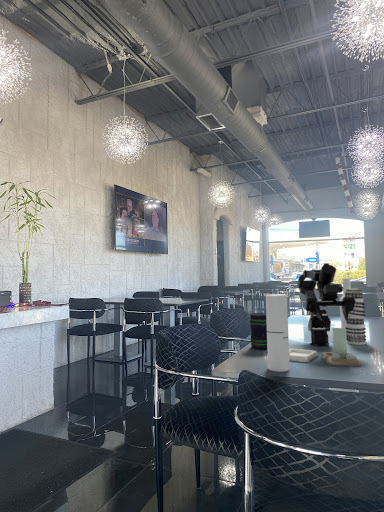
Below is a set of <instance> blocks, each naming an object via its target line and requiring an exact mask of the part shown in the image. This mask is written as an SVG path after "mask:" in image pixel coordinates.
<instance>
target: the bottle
mask: <svg viewBox="0 0 384 512" xmlns="http://www.w3.org/2000/svg"><path fill="white" fill-rule="evenodd" d="M351 283H352V282H351V277H343V278H342V287H343V291H342V295H341V297H340V298H339V300H338V301H343V297H345V291H346V290H347V289H352V286H351ZM342 311H343V309H342V307H339V315H340V316H339V317H340V324H341V326H340V328H346V320H345V317H344V315H343V312H342ZM346 330H347V329H346ZM346 334H347V333H346ZM346 338H347V337H346Z"/></svg>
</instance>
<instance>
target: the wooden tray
mask: <svg viewBox="0 0 384 512" xmlns="http://www.w3.org/2000/svg"><path fill="white" fill-rule="evenodd" d="M348 353H349V352H347V354H348ZM332 354H333V352H321V357H322V359H323V360H324V361H325V362H326V363H327V364H328V365H329V366H330V367H333V366H334V367H337V366H338V367H341V366H342V367H361V366H362V364H361V363H362V362H361V361H362V360H361V359H360V358H358V357H357V356H355V360H343V359H331V355H332Z"/></svg>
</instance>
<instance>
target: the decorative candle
mask: <svg viewBox="0 0 384 512" xmlns="http://www.w3.org/2000/svg"><path fill="white" fill-rule="evenodd" d="M363 293H364V291H363V290H361V288H351V289H347V290H346V291H345V297H354V298H355V301H356V302H355V305H354V309H353V310H352V311H350V312H348V320H347V321H346V328H345V329H347V330H346V333H347V334H346V337H347V338H346V340H347V344H349V345H359V346H361V345H366V344H367V342H366V341H367V335H366V333H367V331H366V329H367V328H366V324H365V318H366V317H365V316H366V314H365V313H366V311H365V310H364V309H366V307H365V305H366V303H364V301H365V300H364V297H363V296H364V294H363Z"/></svg>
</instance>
